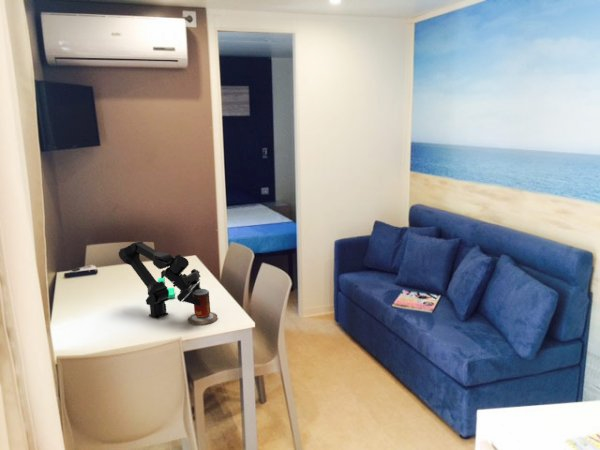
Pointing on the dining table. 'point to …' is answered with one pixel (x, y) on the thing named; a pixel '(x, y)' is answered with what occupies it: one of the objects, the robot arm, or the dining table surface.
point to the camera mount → (171, 290)
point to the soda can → (202, 303)
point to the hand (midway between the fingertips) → (202, 301)
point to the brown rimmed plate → (205, 321)
